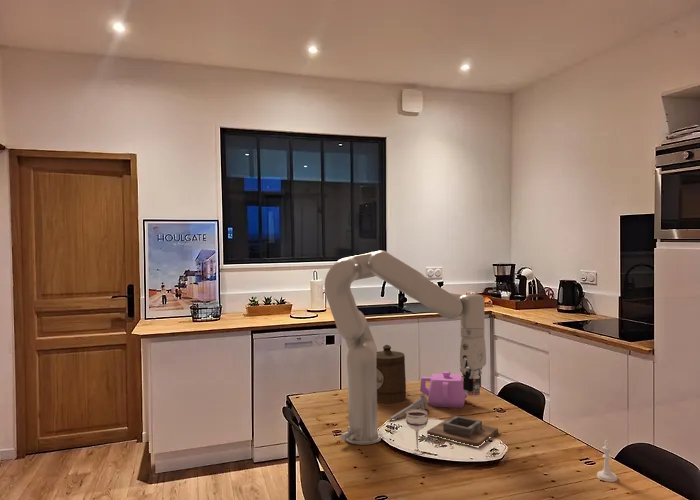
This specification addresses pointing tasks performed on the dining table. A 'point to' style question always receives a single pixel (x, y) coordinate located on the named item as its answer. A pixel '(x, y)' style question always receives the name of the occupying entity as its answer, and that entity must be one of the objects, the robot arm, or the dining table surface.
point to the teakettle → (444, 390)
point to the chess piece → (606, 466)
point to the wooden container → (390, 376)
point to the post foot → (463, 430)
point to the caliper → (412, 407)
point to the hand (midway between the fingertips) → (472, 387)
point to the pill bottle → (474, 384)
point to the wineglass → (416, 420)
